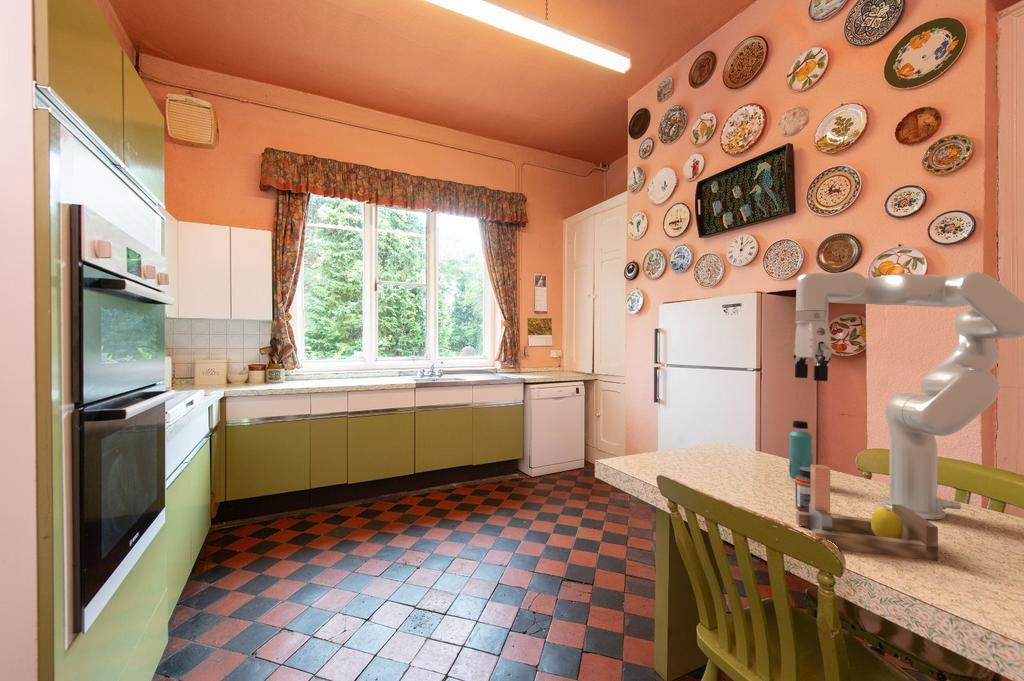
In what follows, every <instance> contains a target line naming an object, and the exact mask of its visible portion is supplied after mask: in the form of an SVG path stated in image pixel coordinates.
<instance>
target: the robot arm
mask: <svg viewBox="0 0 1024 681" xmlns="http://www.w3.org/2000/svg"><path fill="white" fill-rule="evenodd" d="M795 284H796V285H795V286H796V287H795V288H796V289H795V290H796V291H795V292H796V294H795V300H796V301H795V324H796V328H795V335H794V337H795V338H794V347H793V348H792V353H793V359H794V360H793V361H794V362H793V363H794V378H796V379H807V378H808V374H809V371H808V370H809V368H808V367H809V365H808V363H807V362H808V360H809V359H812V360H813V362H814V364H815V365H813V381H815V382H828V381H829V380H828V377H829V375H828V374H829V370H828V369H829V366H830V361H831V356H832V353H833V350H832V340H831V339H832V337H831V331H830V325H829V303H833V304H834V303H835V304H852V305H853V304H856V305H881V306H908V307H909V306H910V307H911V306H912V307H913V306H914V307H931V308H959V307H968V306H969V307H971V308H968V309H965V310H963V311H962V312H960V313H959V314H958V315H957V316H956V318H955V320H954V323H953V324H954V331H955V334H956V345H955V348H954V349H953V350H952V351H951V352H949V354H948V355H947V356H946V357H945V358H944V359H942V361H940V362H939V363H938V364H937V365H936V366H934V367H933V368H932V369H930V371H929V372H927V373H926V374H925V375H924V377H923V378H922V380H921V382H920V388H921V390H922V392H923V393H924V394H918V393H911V392H910V393H909V392H908V393H907V392H906V393H898V394H896V395H894V396H892V397H891V398H890V399H888V401H887V403H886V405H885V410H884V412H885V419H886V422H887V427H888V433H889V498H884V499H882V500H881V504H882V506H883V507H884V508H888V509H889V510H891V511H892V504H897V505H903V506H905V507H906V508H908V509H910V510H911V511H913V512H914V513H916V514H917V515H919V516H921V517H922V518H924V519H925V520H942V519H945V518H946V511H945V510H946V509H952V510H961V509H962V504H961V502H959V501H955V500H948V499H946V498H941V497H939V496H938V444H937V441H936V437H935V436H938V437H947V436H951V435H954V434H956V433H958V432H959V431H961V430H963V429H964V428H965V427H966V426H967V425H969V423H972V422H973V421H974V420H975V419H976V418H977V417H978V416H980V415H981V413H982V414H983V412H984V411H985V410H987V409H988V408H989V407H990V406H991V405H993V403H994V402H995V400H996V399H997V398H998V396H999V394H1000V383H999V380H998V378H997V377H996V376H995V375H994V373H991V372H990V371H991V370H993V369H994V367H995V366H996V365H997V362H998V360H999V354H998V353H999V352H998V348H997V342H996V339H997V340H998V339H999V340H1000V339H1002V340H1003V339H1004V340H1005V339H1009V340H1011V339H1018V338H1022V337H1024V302H1023V301H1022V300H1021V299H1020V298H1019V297H1017V295H1015V294H1014V293H1013V292H1012V291H1011V290H1009V289H1008V288H1007V287H1006V286H1005V285H1004V284H1002V283H1001V282H999V281H998V280H997V279H995V278H994V277H992V276H991V275H989V274H987V273H984V272H980V271H970V272H964V273H959V274H952V275H946V274H944V275H943V274H942V275H940V274H939V275H938V274H918V273H917V274H916V273H894V274H886V275H882V276H881V275H880V276H872V277H864V275H863V274H861V273H858V272H855V271H843V272H834V273H822V272H821V273H819V272H815V273H814V272H811V273H803V274H801V275H798V277H797V278H796V283H795Z"/></svg>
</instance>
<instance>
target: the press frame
mask: <svg viewBox="0 0 1024 681" xmlns="http://www.w3.org/2000/svg"><path fill="white" fill-rule="evenodd" d="M892 511H893V512H894V513H896V514H897V515H898V516H899V518H900V519H901V522H902V525H903V533H902V536H901V538H900V539H897V538H888V537H879V536H876V535H875V534H874V532H873V530H872V528H871V518H869V517H858V516H848V515H838V514H831V515H832V531H824V530H815V529H813V531H812V535H813V534H814V535H815V536H818V537H822V538H824V539H826V540H829V541H831V542H832V543H834V544H835V545H836V546H837V547H838V548H839V549H838V550H843V551H851V552H859V553H868V554H869V553H870V554H876V555H877V554H878V555H884V556H885V555H886V556H892V557H894V556H895V557H901V556H902V558H909V559H910V558H911V559H919V560H927V561H934V562H938V561H939V557H938V556H939V527H938V526H937V525H936V524H933V523H932V522H930V521H928V519H924V518H922V517H921V516H919V515H917V514H916V513H914V512H913V511H911V510H910V509H908V508H906V507H905V506H903V505H897V504H892ZM795 513H796V514H795V516H796V517H795V518H796V519H795V520H796V521H795V522H796V525H797V524H798V525H801V526H805V527H804V528H809V512H802V511H800V510H798V511H795ZM798 525H797V526H798Z"/></svg>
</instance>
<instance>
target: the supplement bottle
mask: <svg viewBox="0 0 1024 681" xmlns="http://www.w3.org/2000/svg"><path fill="white" fill-rule="evenodd" d="M799 472H800V473H799V475H797V476H796V478H795V479H794V480H795V508H796V509H797V510H798V511H799V512H809V503H810V481H811V468H810V467H800V471H799Z"/></svg>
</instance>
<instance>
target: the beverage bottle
mask: <svg viewBox="0 0 1024 681" xmlns="http://www.w3.org/2000/svg"><path fill="white" fill-rule="evenodd" d="M808 424H809V423H808V422H807V421H805V420H793V422H792V428H795V429H799V430H793V431H790V433H789V434H788V438H789V441H788V442H789V446H788V451H789V453H788V454H789V455H788V461H789V464H788V467H789V468H788V470H789V473H788V475H789V477H790V478H791V479H793V480H795V478H796V476H797V475H799V473H800V472H799V471H800V467H810V468H811V464H814V462H813V459H814V458H813V455H814V454H813V435H812V434H811V433H809V432H808V431H804V429H805V430H808V429H809V425H808ZM800 429H801V430H800Z"/></svg>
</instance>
